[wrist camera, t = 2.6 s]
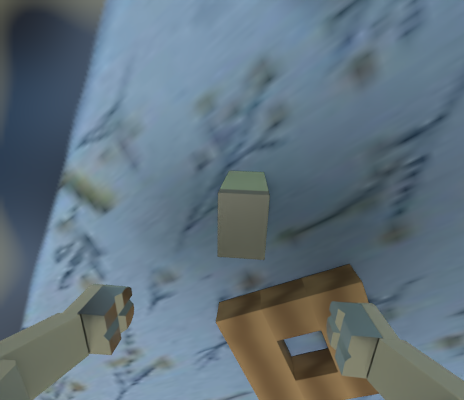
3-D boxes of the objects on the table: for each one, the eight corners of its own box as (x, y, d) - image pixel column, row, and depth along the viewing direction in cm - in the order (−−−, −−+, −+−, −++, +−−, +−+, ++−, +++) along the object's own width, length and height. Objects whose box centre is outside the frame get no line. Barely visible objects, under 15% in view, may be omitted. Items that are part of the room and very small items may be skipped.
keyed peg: (263, 172, 23) (269, 195, 15) (260, 218, 24) (264, 259, 17) (229, 170, 23) (217, 192, 15) (228, 216, 25) (217, 256, 17)
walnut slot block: (349, 263, 25) (362, 281, 22) (382, 364, 29) (396, 390, 26) (219, 302, 28) (215, 322, 25) (265, 388, 32) (266, 413, 29)
